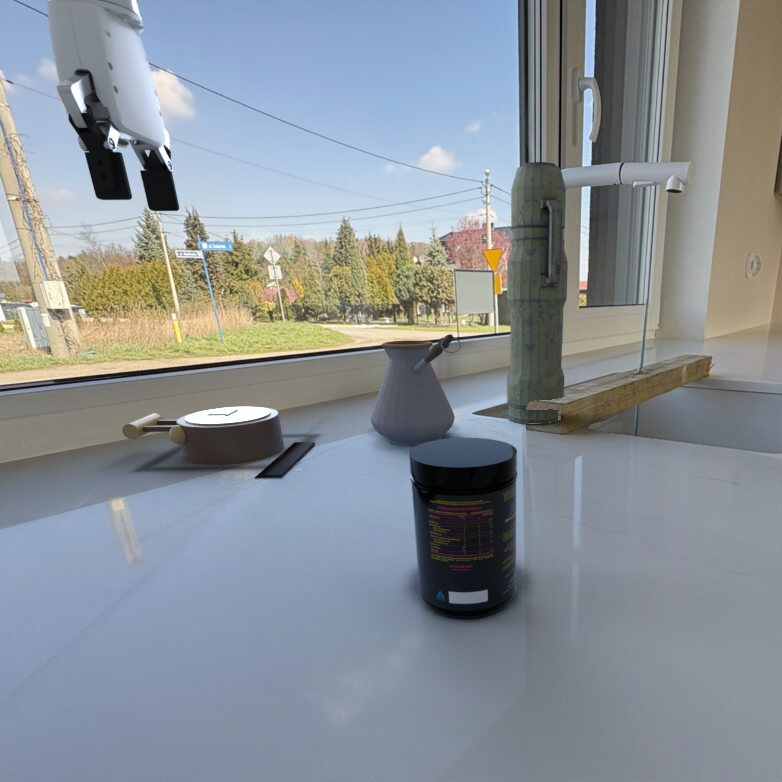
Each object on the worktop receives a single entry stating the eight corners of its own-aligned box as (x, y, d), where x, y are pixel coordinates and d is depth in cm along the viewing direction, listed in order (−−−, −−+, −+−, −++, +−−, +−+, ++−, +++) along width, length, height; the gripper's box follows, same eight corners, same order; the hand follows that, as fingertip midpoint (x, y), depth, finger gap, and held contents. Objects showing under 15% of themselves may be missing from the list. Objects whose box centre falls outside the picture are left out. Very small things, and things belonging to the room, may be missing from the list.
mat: (142, 480, 62) (141, 477, 62) (200, 446, 75) (199, 443, 75) (282, 477, 63) (281, 474, 63) (315, 444, 76) (314, 441, 76)
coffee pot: (363, 433, 81) (351, 324, 76) (438, 425, 86) (433, 321, 81) (409, 475, 64) (399, 337, 58) (501, 461, 69) (500, 332, 63)
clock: (117, 472, 63) (104, 426, 61) (167, 446, 73) (157, 405, 71) (267, 469, 64) (259, 423, 62) (296, 444, 74) (290, 403, 72)
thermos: (539, 408, 97) (543, 174, 84) (579, 422, 88) (590, 161, 75) (493, 414, 93) (490, 169, 80) (530, 429, 84) (533, 154, 71)
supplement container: (506, 569, 43) (505, 434, 39) (527, 616, 37) (528, 463, 33) (416, 578, 42) (406, 440, 38) (422, 629, 36) (411, 470, 32)
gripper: (107, 38, 62) (148, 214, 68) (-20, -46, 46) (49, 194, 52) (178, 38, 62) (212, 214, 69) (76, -45, 46) (133, 194, 53)
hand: (141, 205), depth 61 cm, fingers open, 9 cm apart
